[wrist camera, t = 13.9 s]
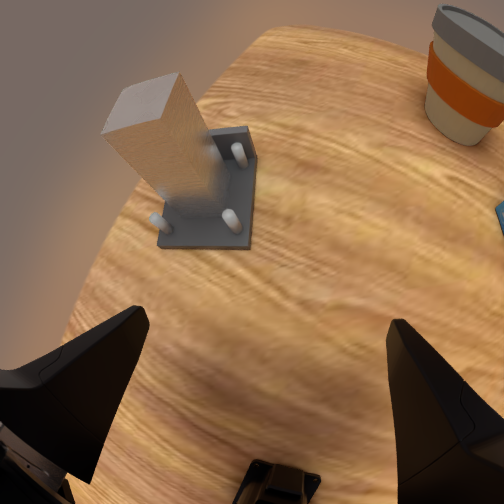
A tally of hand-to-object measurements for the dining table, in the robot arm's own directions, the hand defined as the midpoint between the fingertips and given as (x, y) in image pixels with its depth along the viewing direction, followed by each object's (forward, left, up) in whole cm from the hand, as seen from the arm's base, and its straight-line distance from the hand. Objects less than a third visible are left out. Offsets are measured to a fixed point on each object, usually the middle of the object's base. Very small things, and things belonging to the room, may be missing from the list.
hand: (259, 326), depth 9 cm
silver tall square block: (+10, +11, -13) cm, 19 cm away
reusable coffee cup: (+30, -15, -14) cm, 36 cm away
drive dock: (+10, +11, -14) cm, 20 cm away
